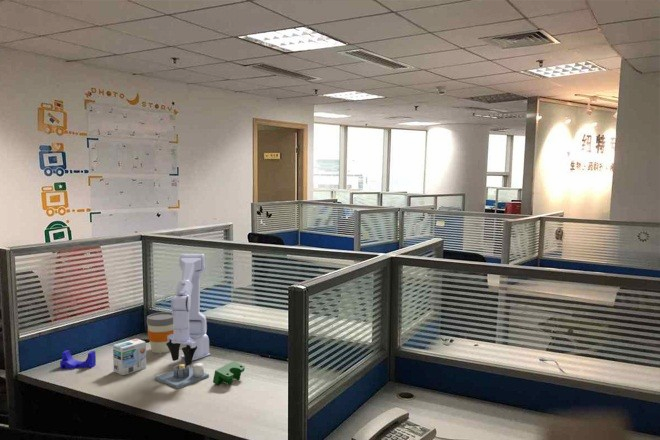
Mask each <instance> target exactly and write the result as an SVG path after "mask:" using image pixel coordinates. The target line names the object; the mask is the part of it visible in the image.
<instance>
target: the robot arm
mask: <svg viewBox="0 0 660 440" xmlns="http://www.w3.org/2000/svg"><path fill="white" fill-rule="evenodd" d="M206 260H207V259H206V255H205V254H204V253H181V254H180V255H179V261H178V262H179V265H178V266H179V267H180V269H181V271H182V275H181V280H180V281H178V282H177V285H176V289H175V294H174V296H172V297H171V300H170V309H171V313H172V316H173V332H174V335H172V334H171V335H168V336H167V340H168V341H169V342H168V343H166V345H167V347H168V348H169V350H170V351H169V353H170V355H171V359H172V361H173V362H176V361H178V360H179V359H180V358H179V357H180V347H181V345H184V347H182V348H181V350H182V352H183V354H182V355H181V358H184V364H185V365H186V366H188V365H192V362H193V361H196V360H200V359H202V358H205V357H208V356H210V355H211V353H210V339H209V336H208V335H207V330H208V324H207V323H208V322H207V316H206V315H205V314H203V313H202V312H200V307H201V305H200V304H201V276H202V274H203V273H205V272H206V265H207V264H206Z"/></svg>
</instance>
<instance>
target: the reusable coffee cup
mask: <svg viewBox="0 0 660 440" xmlns="http://www.w3.org/2000/svg"><path fill="white" fill-rule="evenodd" d="M146 324H147V329H146V331H147V336H148V341H149V343H150V349H151V352H153V353H156V354H164V353H170V350H169V348H168V347H167V345H166V343H168V342H169V341H168V340H167V336H168V335H171V334H172V335H174V332H173V316H172V312H167V311H166V312H165V311H162V312H161V311H160V312H155V313H151V314H149V315H147V316H146Z"/></svg>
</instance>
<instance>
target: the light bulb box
mask: <svg viewBox="0 0 660 440" xmlns="http://www.w3.org/2000/svg"><path fill="white" fill-rule="evenodd" d="M112 346H113V347H112V349H113V350H112V351H113V352H112V353H113V354H112V355H113V356H112V357H113V358H112V359H113V372H115V373H116V374H118V375H120V376H124V375H128V374H131V373H134V372H137V371H141V370H145V369H147V342H146V341H145V340H141V339H140V338H139V339H138V338H134V339H130V340H127V341H123V342H119V343H116V344H113V345H112Z"/></svg>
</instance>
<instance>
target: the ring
mask: <svg viewBox="0 0 660 440" xmlns="http://www.w3.org/2000/svg"><path fill="white" fill-rule="evenodd" d="M181 364H182V363H179V364H176V365H174V366H173V370H174V378H177V379H184V378H187V377H189V375H190V368H191V367H190V365H191V364H190V365H188V366H186V365H185V363H183V364H184V365H185V368H183V369H179V365H181Z"/></svg>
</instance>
